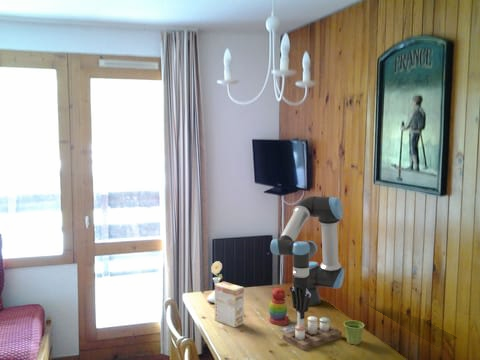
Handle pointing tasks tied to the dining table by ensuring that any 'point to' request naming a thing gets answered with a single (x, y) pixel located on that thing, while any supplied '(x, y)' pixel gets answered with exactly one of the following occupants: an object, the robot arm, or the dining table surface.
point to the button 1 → (300, 332)
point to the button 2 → (324, 324)
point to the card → (288, 328)
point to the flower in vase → (215, 269)
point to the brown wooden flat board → (312, 338)
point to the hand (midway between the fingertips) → (300, 324)
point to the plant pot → (353, 331)
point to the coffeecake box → (229, 304)
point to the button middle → (312, 325)
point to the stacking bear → (278, 307)
